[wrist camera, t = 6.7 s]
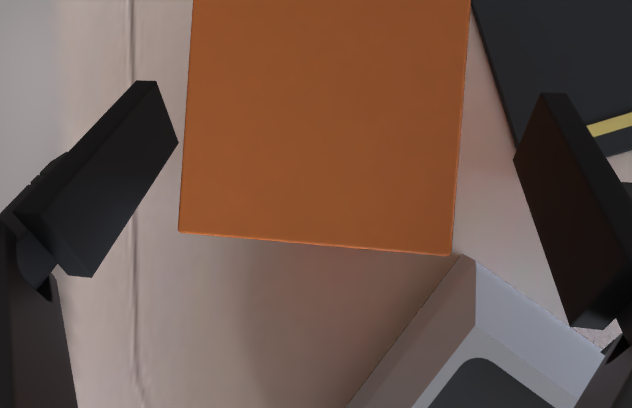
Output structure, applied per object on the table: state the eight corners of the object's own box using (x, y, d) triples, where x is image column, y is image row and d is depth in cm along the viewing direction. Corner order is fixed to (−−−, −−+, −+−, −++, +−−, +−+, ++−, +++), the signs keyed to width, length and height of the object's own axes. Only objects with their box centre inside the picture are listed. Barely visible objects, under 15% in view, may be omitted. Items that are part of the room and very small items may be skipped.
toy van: (300, 27, 20) (206, -218, 8) (415, 28, 20) (490, -239, 8) (286, 214, 21) (176, 232, 9) (400, 223, 20) (452, 257, 8)
